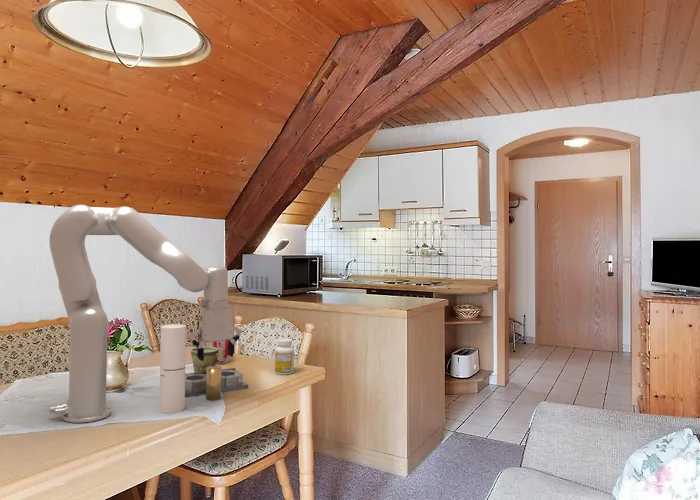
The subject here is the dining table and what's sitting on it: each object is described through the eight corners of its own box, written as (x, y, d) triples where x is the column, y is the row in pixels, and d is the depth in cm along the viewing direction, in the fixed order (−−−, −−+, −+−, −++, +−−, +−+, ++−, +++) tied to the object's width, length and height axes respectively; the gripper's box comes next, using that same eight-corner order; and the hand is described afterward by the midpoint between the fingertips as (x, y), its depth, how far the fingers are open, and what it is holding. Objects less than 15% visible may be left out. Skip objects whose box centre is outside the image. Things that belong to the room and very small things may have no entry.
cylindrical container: (176, 414, 148) (178, 328, 148) (154, 412, 150) (155, 327, 149) (188, 406, 155) (190, 324, 155) (167, 404, 157) (169, 323, 156)
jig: (183, 397, 164) (183, 384, 164) (172, 387, 175) (173, 375, 175) (247, 388, 176) (248, 376, 176) (234, 379, 187) (234, 367, 187)
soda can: (232, 362, 212) (233, 333, 212) (220, 365, 206) (220, 336, 206) (220, 360, 216) (221, 331, 216) (207, 363, 210) (208, 334, 210)
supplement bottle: (280, 369, 202) (281, 337, 202) (296, 371, 199) (297, 339, 199) (271, 374, 195) (272, 340, 195) (287, 376, 193) (288, 342, 193)
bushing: (208, 401, 160) (209, 370, 160) (204, 397, 164) (204, 366, 164) (222, 399, 163) (223, 368, 163) (218, 395, 167) (218, 365, 167)
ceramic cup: (185, 378, 187) (185, 351, 186) (199, 371, 196) (199, 345, 196) (217, 381, 184) (217, 353, 183) (230, 374, 193) (230, 348, 193)
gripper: (192, 308, 155) (192, 364, 156) (245, 304, 165) (246, 356, 165) (185, 305, 162) (185, 359, 162) (237, 301, 171) (237, 352, 172)
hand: (216, 358), depth 164 cm, fingers open, 9 cm apart
